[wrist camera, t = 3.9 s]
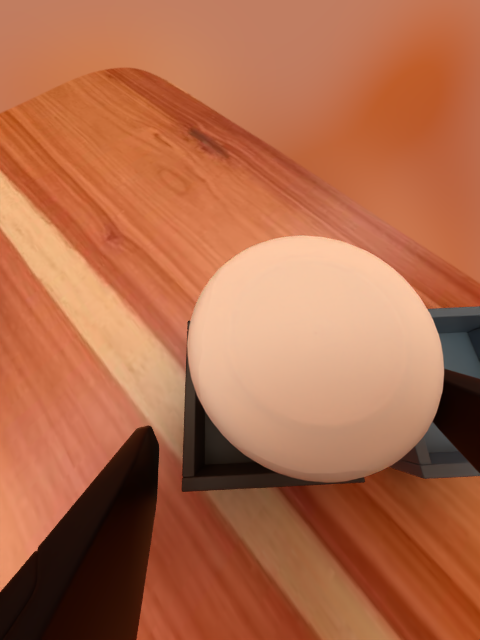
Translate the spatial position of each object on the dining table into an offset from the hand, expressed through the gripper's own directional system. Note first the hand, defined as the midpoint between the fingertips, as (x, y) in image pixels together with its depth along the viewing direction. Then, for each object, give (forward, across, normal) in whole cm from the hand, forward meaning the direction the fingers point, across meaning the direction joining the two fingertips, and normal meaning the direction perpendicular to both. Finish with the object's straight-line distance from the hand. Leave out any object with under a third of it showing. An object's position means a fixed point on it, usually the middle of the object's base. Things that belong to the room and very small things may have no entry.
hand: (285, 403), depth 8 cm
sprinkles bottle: (+7, 0, +6) cm, 9 cm away
